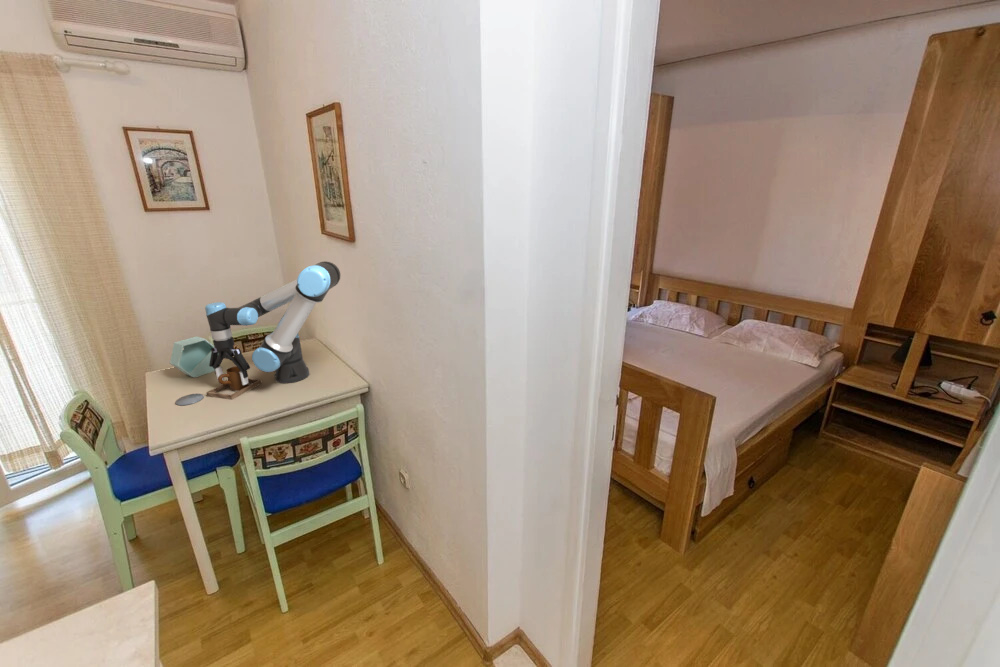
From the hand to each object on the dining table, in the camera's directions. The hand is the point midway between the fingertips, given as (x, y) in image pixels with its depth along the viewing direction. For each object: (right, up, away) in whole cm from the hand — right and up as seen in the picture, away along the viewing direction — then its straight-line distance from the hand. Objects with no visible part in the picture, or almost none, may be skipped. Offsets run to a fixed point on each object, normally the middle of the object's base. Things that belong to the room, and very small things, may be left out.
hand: (233, 382), depth 196 cm
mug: (0, -4, +1) cm, 4 cm away
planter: (-29, +2, +20) cm, 35 cm away
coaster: (-14, -7, -8) cm, 17 cm away
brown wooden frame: (0, -3, +1) cm, 4 cm away
